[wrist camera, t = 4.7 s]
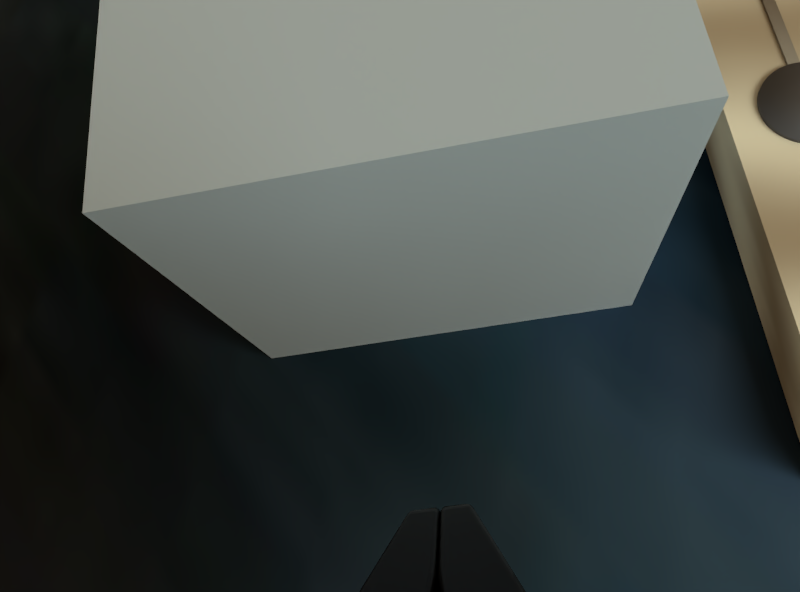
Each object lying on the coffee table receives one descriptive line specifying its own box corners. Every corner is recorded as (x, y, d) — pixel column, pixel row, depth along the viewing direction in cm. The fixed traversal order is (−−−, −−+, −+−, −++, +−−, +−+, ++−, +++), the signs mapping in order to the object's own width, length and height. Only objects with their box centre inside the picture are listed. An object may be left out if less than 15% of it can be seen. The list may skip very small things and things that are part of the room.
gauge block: (631, 305, 18) (728, 96, 10) (272, 359, 19) (81, 213, 11) (572, 66, 21) (608, -254, 12) (265, 125, 22) (110, -131, 14)
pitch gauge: (998, 461, 15) (1062, 450, 13) (812, 483, 16) (850, 475, 14) (725, -183, 23) (742, -244, 21) (608, -157, 24) (615, -214, 22)
